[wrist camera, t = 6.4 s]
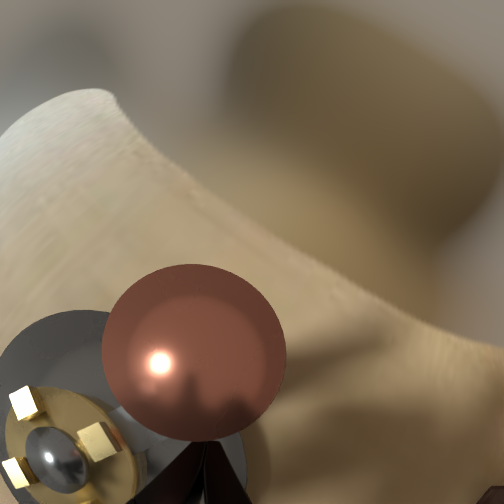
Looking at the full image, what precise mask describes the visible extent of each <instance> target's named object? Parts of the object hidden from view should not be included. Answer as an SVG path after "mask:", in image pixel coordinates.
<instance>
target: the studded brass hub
mask: <svg viewBox="0 0 504 504" xmlns="http://www.w3.org/2000/svg"><path fill="white" fill-rule="evenodd" d="M102 362H103V369H104V372H105V376H106V379H107V382H108V384H109V386H110V389H111V391H112V393H113V394H114V396H115V398H116V399H117V401H118V402H119V404H120V405H121V407H119V408H117V409H115V408H113V407H112V406H111V405H109V404H107V403H106V402H104V401H102V400H100V399H98V398H96V397H93V396H90V395H87V394H82V393H77V392H72V391H68V390H63V389H59V388H55V387H37V388H35V387H31V386H26V387H24V388H22V389H20V390H18V391H16V392H15V393H13V394H11V395H9V396H10V399H11V401H12V404H13V405H12V406H11V408H10V410H9V413H8V416H7V420H6V427H5V439H6V446H7V451H8V455H9V458H10V460H7V461H4V462H2V464H3V466H4V468H5V470H6V472H7V474H8V475H9V477H10V479H11V481H12V483H13V485H14V486H15V488H16V489H17V488H22V487H25V488H26V490H27V491H28V492H29V493H30V494H31V495H32V497H33V498H34V499H35V500H36V501H38V502H39V503H40V504H125V503H126V502H128V501H129V500H130V499H131V498H133V497H134V496H135V495H136V494H137V493H138V492H139V491H141V490H142V489H143V488H144V486H145V483H146V479H147V460H146V455H145V451H144V450H146V449H148V448H150V447H152V446H154V445H156V444H158V443H160V442H162V441H164V440H166V439H168V438H171V439H176V440H181V441H192V442H202V441H212V440H216V439H220V438H224V437H227V436H230V435H232V434H235V433H237V432H239V431H241V430H242V429H244V428H246V427H248V426H249V425H250V424H251V423H253V422H254V421H255V420H257V419H258V418H259V417H260V416H261V415H262V414H263V413H264V412H265V411H266V409H267V408H268V407H269V405H270V404H271V403H272V401H273V400H274V398H275V396H276V394H277V392H278V390H279V388H280V385H281V382H282V380H283V376H284V371H285V366H286V345H285V339H284V334H283V330H282V327H281V325H280V322H279V319H278V317H277V316H276V314H275V312H274V310H273V308H272V307H271V305H270V304H269V302H268V301H267V300H266V299H265V298H264V296H263V295H262V294H261V293H260V292H259V291H258V290H257V289H256V288H254V287H253V286H252V285H251V284H250V283H248V282H247V281H245V280H244V279H242V278H241V277H239V276H237V275H235V274H233V273H231V272H228V271H226V270H223V269H220V268H216V267H213V266H207V265H200V264H184V265H176V266H171V267H166V268H163V269H160V270H157V271H155V272H153V273H151V274H148V275H146V276H145V277H143V278H142V279H140V280H138V281H137V282H136V283H134V284H133V285H132V286H131V287H130V288H129V289H128V290H127V291H126V292H125V293H124V294H123V295H122V296H121V297H120V298H119V300H118V301H117V303H116V304H115V305H114V307H113V309H112V311H111V313H110V315H109V317H108V320H107V322H106V325H105V329H104V333H103V338H102ZM133 499H134V498H133Z"/></svg>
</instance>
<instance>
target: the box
mask: <svg viewBox="0 0 504 504" xmlns="http://www.w3.org/2000/svg"><path fill="white" fill-rule="evenodd" d="M477 504H504V486H491V487H490V489H489V490H488V491H487V492H486V493H485V495H484V496H483V497H482V498H481V500H480V501H479V502H478V503H477Z"/></svg>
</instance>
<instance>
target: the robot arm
mask: <svg viewBox="0 0 504 504" xmlns="http://www.w3.org/2000/svg"><path fill="white" fill-rule="evenodd" d="M203 489H204V504H252V502H251V500H250V498H249V497H248V495H247V493H246V491H245V489H244V488H243V486H242V484H241V482H240V480H239V478H238V476H237V474H236V472H235V470H234V468H233V467H232V465H231V463H230V460H229V458H228V456H227V454H226V452H225V450H224V448H223V446H222V444H221V442H220V441H214V440H212V441H202V442H192V441H191V442H190V444H189V445H188V446H187V447H186V448H185V449H184V450H183V451H182V452H181V453H180V454H179V455H178V456H177V457H176V458H175V459H174V460H173V461H172V462H171V463H170V464H168V465H167V466H166V467H165V468H164V469H163V470H162V471H161V472H160V473H159V474H158V475H157V476H156V477H155V478H154V479H153V480H152V481H150V482H149V483H148V484H147V485H146V486H145V487H144V488H143V489H142V490H141V491H139V492H138V493H137V494H136V495H135V496H134V497H133V498H134V499H133V498H131V499H130V500H129V501H128V502H126V503H125V504H200V502H201V499H202V495H203Z"/></svg>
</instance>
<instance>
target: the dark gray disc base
mask: <svg viewBox="0 0 504 504" xmlns="http://www.w3.org/2000/svg"><path fill="white" fill-rule="evenodd" d="M109 315H110V313H108V312H102V311H94V310H73V311H67V312H61V313H57V314H54V315H51V316H47V317H45V318H43V319H41V320H39V321H37V322H35V323H33V324H31V325H30V326H29V327H27V328H26V329H24V330H23V331H22V332H21V333H19V334H18V335H17V336H16V337H15V338H14V339H13V340H12V341H11V343H10V344H9V345H8V346H7V348H6V349H5V350H4V352H3V353H2V355H1V357H0V473H1V475H2V477H3V479H4V481H5V483H6V484H7V486H8V488H9V489H10V491H11V493H12V494H13V496H14V497H15V499H16V500H17V501H18V503H19V504H40V503H39V502H38V501H36V500H35V499H34V498H33V497H32V495H31V494H30V493H29V492H28V491H27V490H26V488H25V487H22V488H17V489H16V488H15V486H14V485H13V483H12V481H11V479H10V477H9V475H8V474H7V472H6V470H5V468H4V466H3V464H2V462H4V461H7V460H10V458H9V455H8V451H7V446H6V439H5V427H6V420H7V416H8V413H9V410H10V408H11V406H12V405H13V404H12V401H11V399H10V396H9V395H11V394H13V393H15V392H16V391H18V390H20V389H22V388H24V387H26V386H31V387H35V388H37V387H55V388H59V389H63V390H68V391H72V392H77V393H82V394H87V395H90V396H93V397H96V398H98V399H100V400H102V401H104V402H106V403H107V404H109V405H111V406H112V407H113V408H115V409H117V408H119V407H121V405H120V404H119V402H118V401H117V399H116V398H115V396H114V394H113V393H112V391H111V389H110V386H109V384H108V382H107V379H106V376H105V372H104V369H103V362H102V338H103V333H104V329H105V325H106V322H107V320H108V317H109ZM214 441H220V442H221V444H222V446H223V448H224V450H225V452H226V454H227V456H228V458H229V460H230V463H231V465H232V467H233V468H234V470H235V472H236V474H237V476H238V478H239V480H240V482H241V484H242V486H243V488H244V489H245V491H246V483H247V468H246V458H245V452H244V447H243V442H242V439H241V436H240V433H239V432H237V433H235V434H232V435H230V436H227V437H224V438H220V439H216V440H214ZM190 442H191V441H181V440H176V439H171V438H168V439H166V440H164V441H162V442H160V443H158V444H156V445H154V446H152V447H150V448H148V449H146V450H144V451H145V455H146V460H147V479H146V483H145V486H146V485H147V484H148V483H149V482H150V481H152V480H153V479H154V478H155V477H156V476H157V475H158V474H159V473H160V472H161V471H162V470H163V469H164V468H165V467H166V466H167V465H168V464H170V463H171V462H172V461H173V460H174V459H175V458H176V457H177V456H178V455H179V454H180V453H181V452H182V451H183V450H184V449H185V448H186V447H187V446H188V445H189V444H190ZM145 486H144V487H145ZM200 504H204V489H203V495H202V499H201V502H200Z"/></svg>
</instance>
